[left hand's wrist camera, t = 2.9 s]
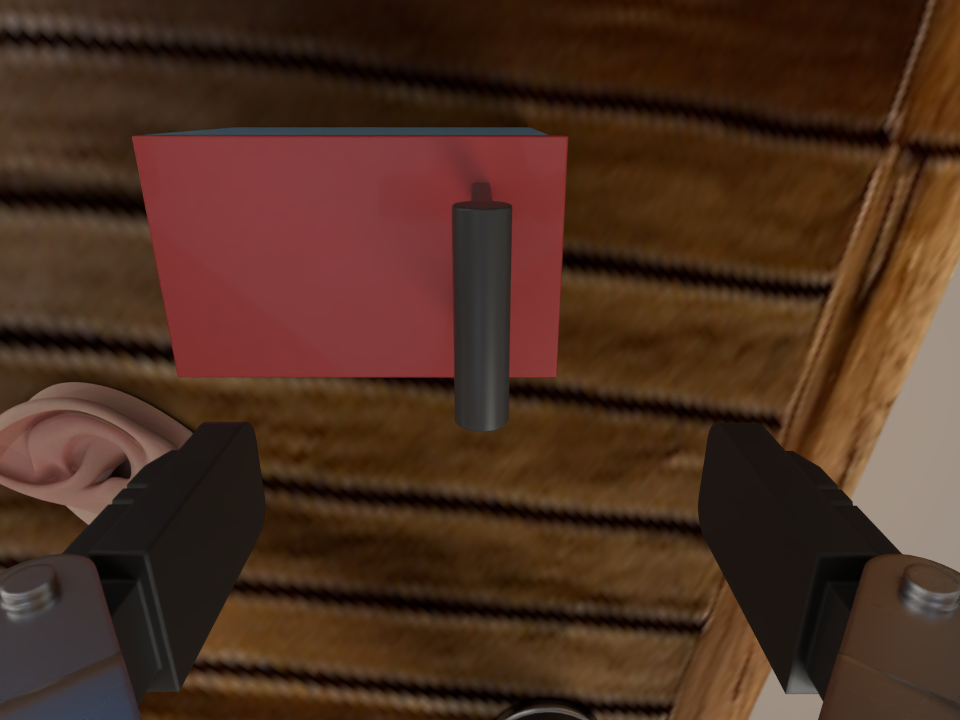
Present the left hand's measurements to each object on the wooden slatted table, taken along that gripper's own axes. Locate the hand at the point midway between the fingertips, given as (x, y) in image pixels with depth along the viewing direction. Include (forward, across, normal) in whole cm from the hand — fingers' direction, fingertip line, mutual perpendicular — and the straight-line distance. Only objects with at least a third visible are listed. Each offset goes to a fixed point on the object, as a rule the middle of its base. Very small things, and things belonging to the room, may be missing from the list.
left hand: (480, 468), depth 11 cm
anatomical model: (+26, +23, +16) cm, 38 cm away
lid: (+16, +5, 0) cm, 17 cm away
